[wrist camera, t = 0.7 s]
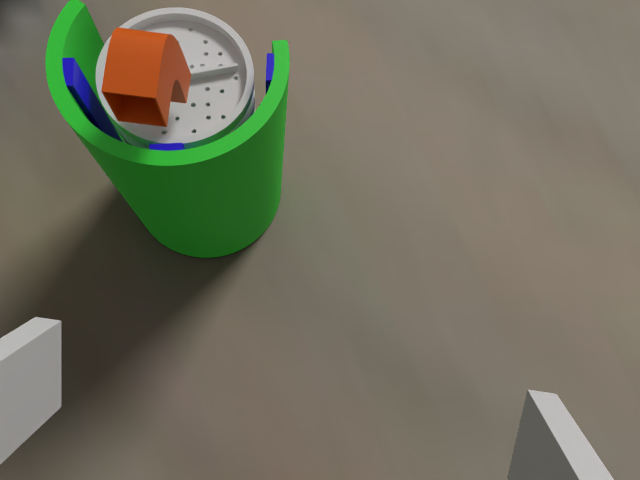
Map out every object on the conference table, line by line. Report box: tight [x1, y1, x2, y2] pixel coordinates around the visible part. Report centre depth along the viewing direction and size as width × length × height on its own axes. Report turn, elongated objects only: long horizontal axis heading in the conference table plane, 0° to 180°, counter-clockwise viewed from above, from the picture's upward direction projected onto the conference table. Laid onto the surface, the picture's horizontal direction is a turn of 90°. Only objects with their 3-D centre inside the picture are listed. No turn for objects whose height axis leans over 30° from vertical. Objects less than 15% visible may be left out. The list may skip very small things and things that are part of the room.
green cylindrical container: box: [46, 0, 290, 258], centre depth 25 cm, size 9×8×18 cm
